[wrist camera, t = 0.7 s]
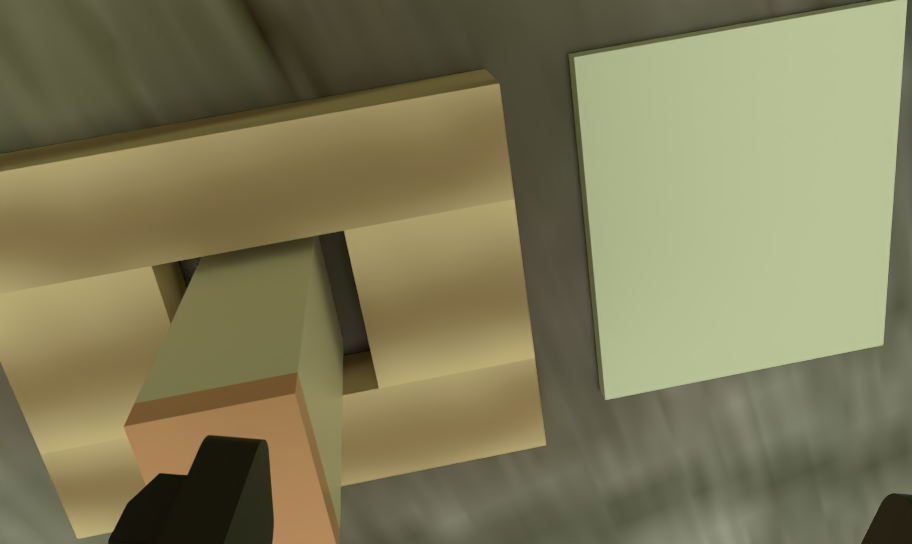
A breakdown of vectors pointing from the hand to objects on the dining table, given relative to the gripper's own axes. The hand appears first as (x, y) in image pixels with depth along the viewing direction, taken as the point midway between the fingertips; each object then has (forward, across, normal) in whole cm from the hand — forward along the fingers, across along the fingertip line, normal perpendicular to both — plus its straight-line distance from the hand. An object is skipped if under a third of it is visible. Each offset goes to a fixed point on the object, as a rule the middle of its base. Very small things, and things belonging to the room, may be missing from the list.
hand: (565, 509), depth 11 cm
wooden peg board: (+18, +8, +9) cm, 22 cm away
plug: (+18, +8, +9) cm, 22 cm away
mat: (+21, -9, +6) cm, 24 cm away
